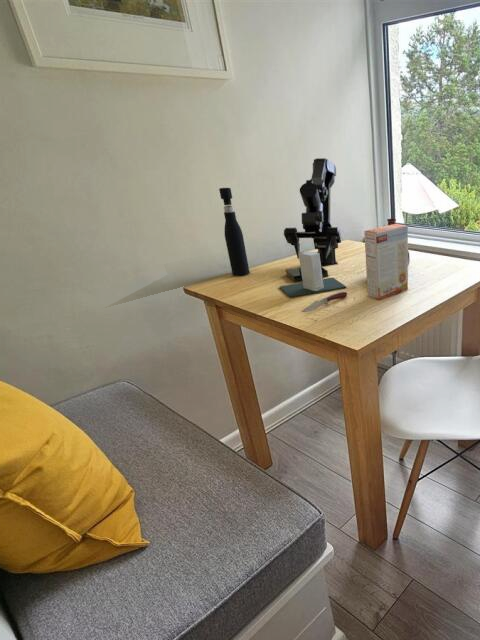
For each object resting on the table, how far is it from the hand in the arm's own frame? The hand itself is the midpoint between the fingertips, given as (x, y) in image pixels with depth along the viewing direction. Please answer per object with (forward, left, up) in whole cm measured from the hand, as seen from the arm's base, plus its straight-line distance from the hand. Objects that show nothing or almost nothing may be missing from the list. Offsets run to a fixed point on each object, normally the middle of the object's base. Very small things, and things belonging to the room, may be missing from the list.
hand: (311, 257), depth 142 cm
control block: (-2, -14, -10) cm, 18 cm away
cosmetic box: (+1, +3, -10) cm, 10 cm away
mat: (+1, 0, -10) cm, 10 cm away
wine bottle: (+19, -30, -10) cm, 37 cm away
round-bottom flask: (-29, +3, -10) cm, 31 cm away
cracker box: (-19, +18, -10) cm, 28 cm away
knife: (+3, +19, -11) cm, 22 cm away
